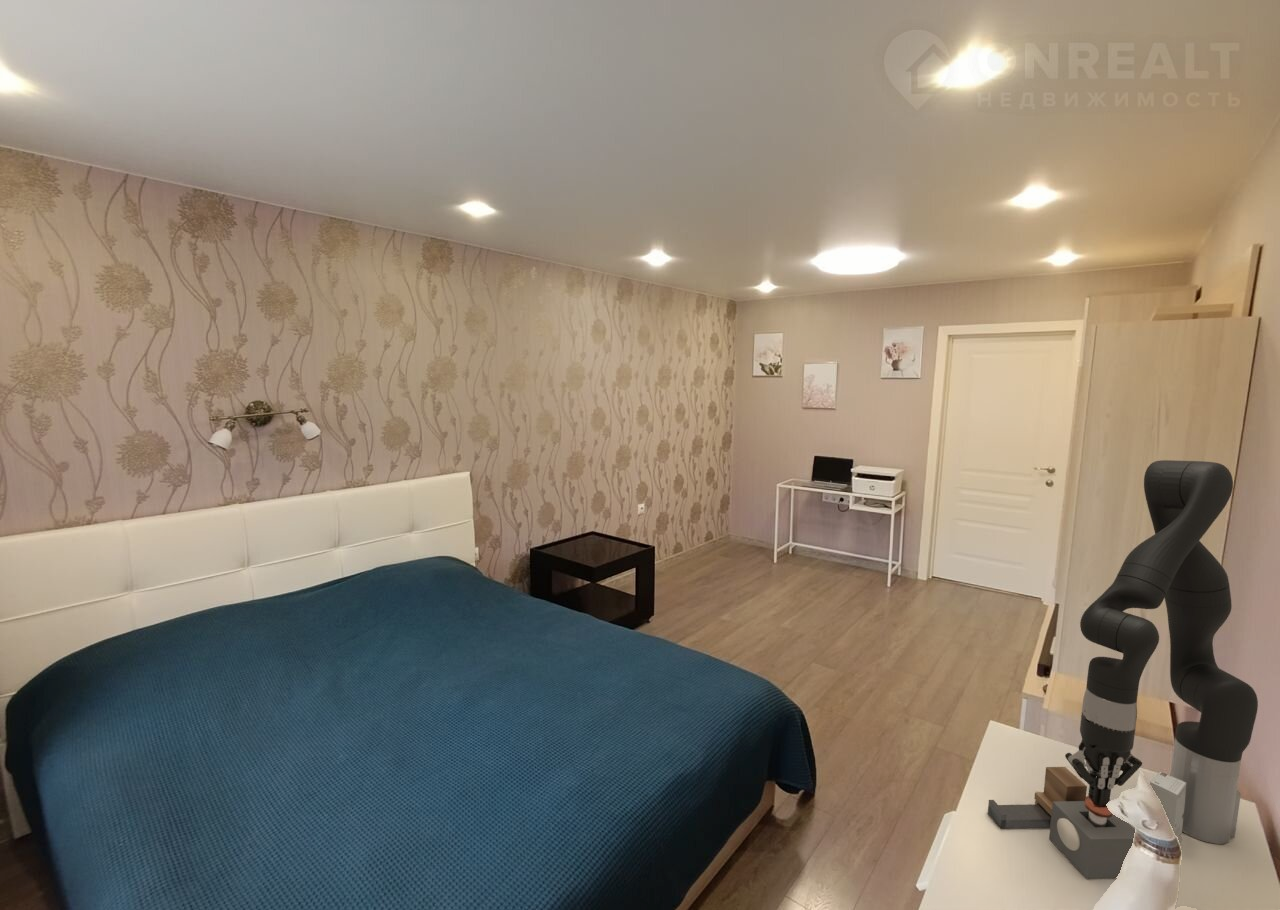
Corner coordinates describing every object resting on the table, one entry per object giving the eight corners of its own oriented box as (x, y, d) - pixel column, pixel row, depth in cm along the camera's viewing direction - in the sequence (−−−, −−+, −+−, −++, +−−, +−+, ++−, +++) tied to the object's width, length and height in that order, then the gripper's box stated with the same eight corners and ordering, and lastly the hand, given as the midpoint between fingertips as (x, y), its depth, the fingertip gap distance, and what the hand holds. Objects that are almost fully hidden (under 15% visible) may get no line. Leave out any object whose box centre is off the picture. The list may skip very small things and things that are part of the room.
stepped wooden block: (1066, 806, 117) (1070, 765, 116) (1091, 831, 110) (1096, 787, 109) (1033, 807, 117) (1037, 765, 115) (1056, 831, 110) (1061, 788, 109)
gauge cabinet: (1099, 837, 109) (1103, 800, 108) (1140, 878, 100) (1145, 838, 99) (1046, 838, 109) (1050, 801, 108) (1084, 879, 100) (1088, 839, 99)
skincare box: (1172, 854, 105) (1180, 796, 104) (1141, 838, 109) (1148, 782, 107) (1182, 839, 109) (1189, 783, 107) (1152, 824, 112) (1158, 769, 111)
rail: (1082, 812, 116) (1084, 798, 115) (1098, 827, 112) (1100, 813, 111) (987, 813, 115) (988, 799, 115) (1000, 829, 111) (1001, 814, 111)
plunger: (1096, 829, 106) (1100, 795, 105) (1114, 847, 102) (1119, 811, 101) (1076, 830, 106) (1079, 795, 105) (1093, 847, 102) (1097, 812, 101)
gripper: (1126, 704, 105) (1115, 788, 107) (1056, 704, 105) (1048, 788, 107) (1163, 729, 97) (1151, 818, 100) (1089, 729, 97) (1079, 819, 100)
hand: (1098, 803), depth 103 cm, fingers closed
